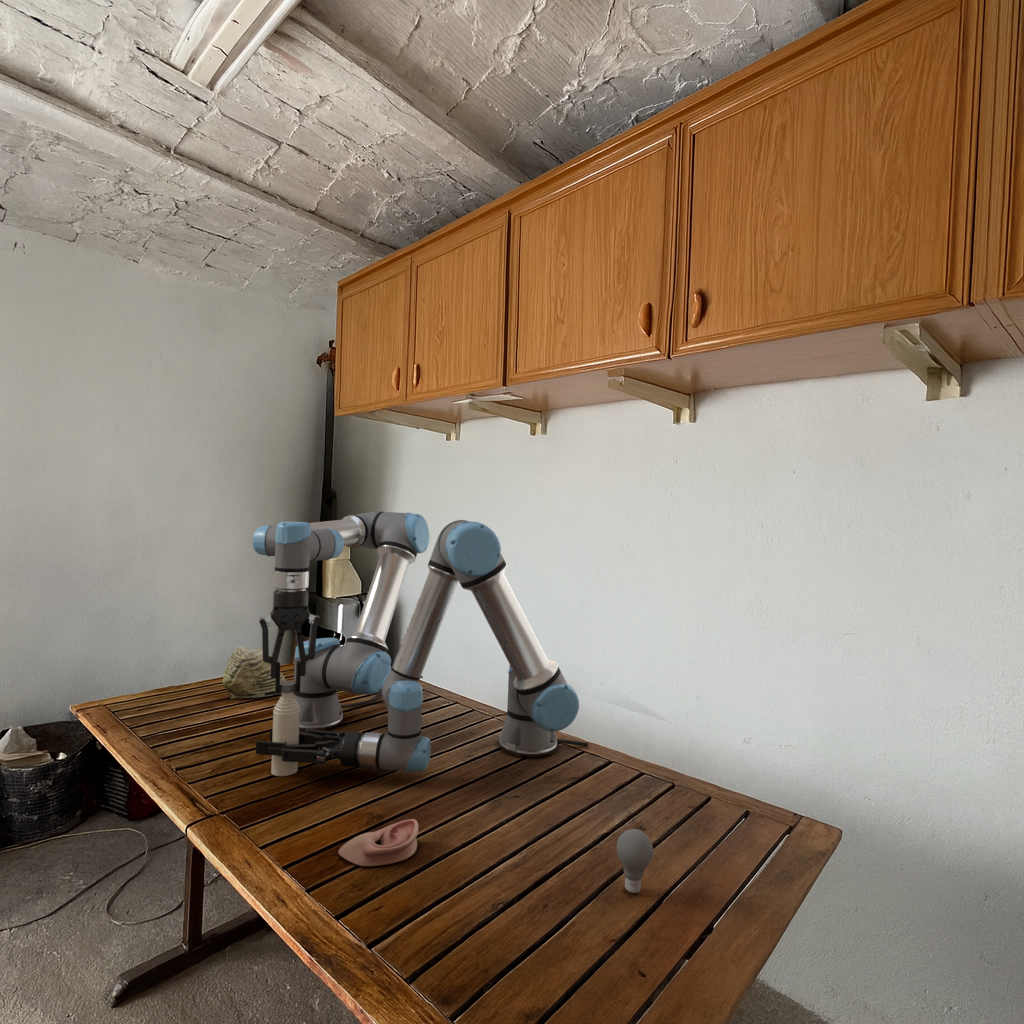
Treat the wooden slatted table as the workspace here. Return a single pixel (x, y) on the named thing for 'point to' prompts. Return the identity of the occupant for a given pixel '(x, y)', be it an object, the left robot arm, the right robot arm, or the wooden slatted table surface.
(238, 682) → the fossil
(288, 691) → the cap
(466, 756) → the wooden slatted table surface
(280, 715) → the bottle
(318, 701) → the left robot arm
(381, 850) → the anatomical model
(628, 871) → the light bulb
